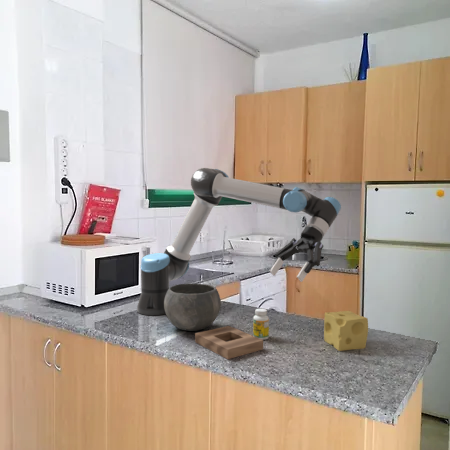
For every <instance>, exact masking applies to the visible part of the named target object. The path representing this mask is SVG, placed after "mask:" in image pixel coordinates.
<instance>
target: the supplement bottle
mask: <svg viewBox="0 0 450 450" xmlns="http://www.w3.org/2000/svg"><path fill="white" fill-rule="evenodd" d="M254 313H255V315H253V319H252V321H253V323H252V325H253V326H252V331H253V332H252V336H254V337H257V338H259V339H262V340H263V341H264V340H268V339H269V338H270V337H269V336H270V318H269V316H268V315H267V314H268V310H267V309H266V308H256V309H255V311H254Z"/></svg>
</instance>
